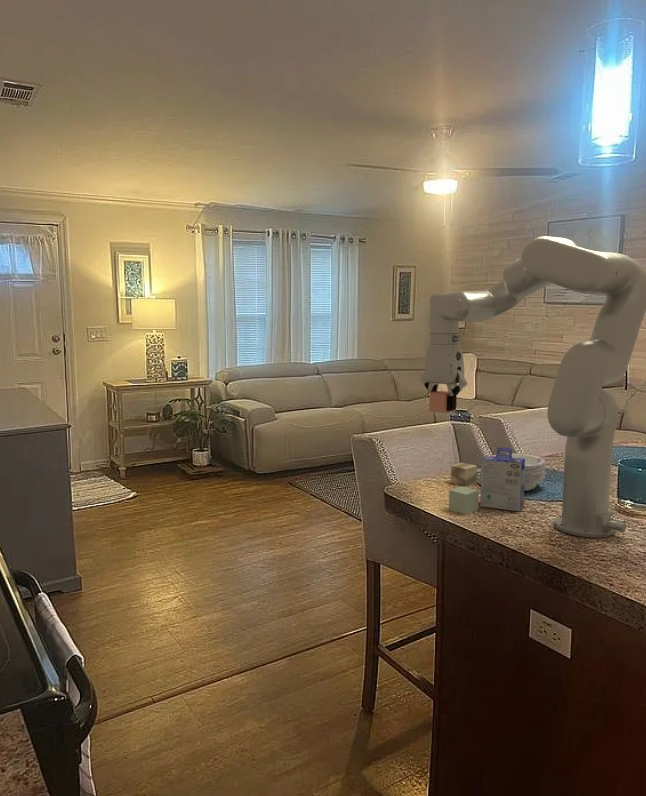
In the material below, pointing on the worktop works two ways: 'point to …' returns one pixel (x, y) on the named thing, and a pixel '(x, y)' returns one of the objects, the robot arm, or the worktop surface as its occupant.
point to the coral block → (438, 402)
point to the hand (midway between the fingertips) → (442, 408)
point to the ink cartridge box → (502, 481)
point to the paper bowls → (532, 470)
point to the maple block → (463, 474)
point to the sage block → (463, 499)
